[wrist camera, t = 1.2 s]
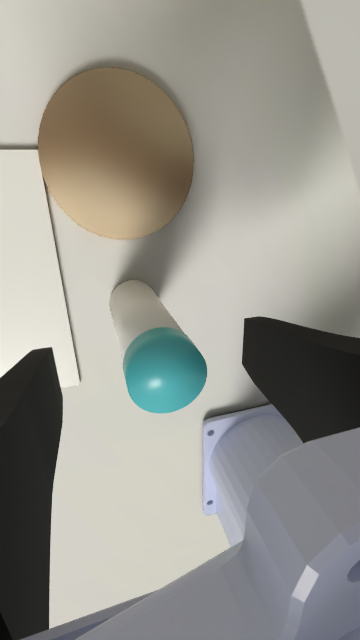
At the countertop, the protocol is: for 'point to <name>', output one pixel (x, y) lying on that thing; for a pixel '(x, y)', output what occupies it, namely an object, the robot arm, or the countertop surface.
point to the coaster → (115, 153)
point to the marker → (154, 351)
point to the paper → (30, 270)
